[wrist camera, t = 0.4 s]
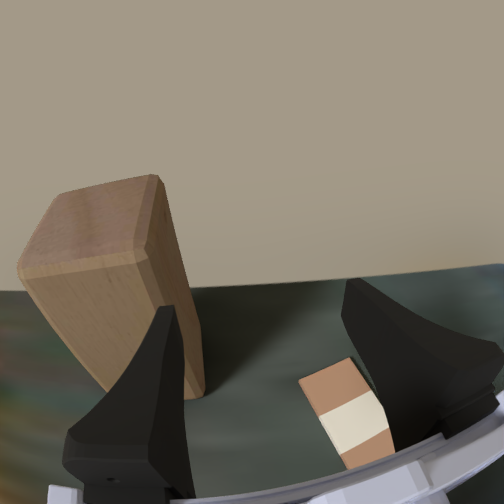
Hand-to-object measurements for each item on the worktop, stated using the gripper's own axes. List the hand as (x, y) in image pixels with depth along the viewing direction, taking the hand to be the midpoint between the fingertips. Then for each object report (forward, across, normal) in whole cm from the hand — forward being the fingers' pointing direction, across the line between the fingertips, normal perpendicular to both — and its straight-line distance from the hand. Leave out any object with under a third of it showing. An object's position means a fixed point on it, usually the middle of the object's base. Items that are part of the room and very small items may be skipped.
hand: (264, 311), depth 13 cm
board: (0, -10, +20) cm, 22 cm away
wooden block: (+14, +9, +18) cm, 25 cm away
